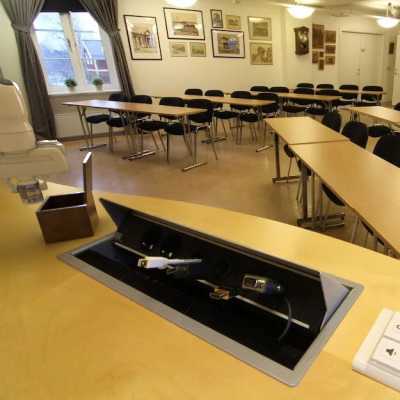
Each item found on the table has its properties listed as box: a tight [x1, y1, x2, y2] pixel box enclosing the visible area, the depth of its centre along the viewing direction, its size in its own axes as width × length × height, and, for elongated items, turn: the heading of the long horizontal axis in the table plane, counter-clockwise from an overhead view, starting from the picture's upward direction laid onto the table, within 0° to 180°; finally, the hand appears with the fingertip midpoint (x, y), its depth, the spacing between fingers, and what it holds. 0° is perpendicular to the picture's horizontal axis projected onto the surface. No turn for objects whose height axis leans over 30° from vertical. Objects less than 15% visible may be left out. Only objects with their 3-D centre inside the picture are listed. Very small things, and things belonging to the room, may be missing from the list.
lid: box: [82, 151, 94, 204], centre depth 105 cm, size 13×16×1 cm
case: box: [34, 191, 99, 245], centre depth 107 cm, size 13×16×11 cm
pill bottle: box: [15, 175, 45, 206], centre depth 90 cm, size 5×5×8 cm
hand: (30, 191), depth 90 cm, fingers closed on pill bottle, 5 cm apart
